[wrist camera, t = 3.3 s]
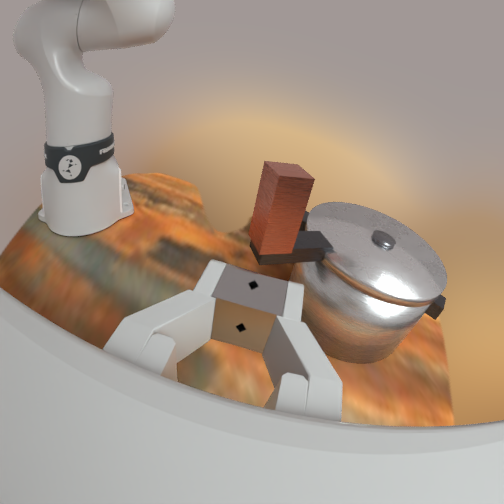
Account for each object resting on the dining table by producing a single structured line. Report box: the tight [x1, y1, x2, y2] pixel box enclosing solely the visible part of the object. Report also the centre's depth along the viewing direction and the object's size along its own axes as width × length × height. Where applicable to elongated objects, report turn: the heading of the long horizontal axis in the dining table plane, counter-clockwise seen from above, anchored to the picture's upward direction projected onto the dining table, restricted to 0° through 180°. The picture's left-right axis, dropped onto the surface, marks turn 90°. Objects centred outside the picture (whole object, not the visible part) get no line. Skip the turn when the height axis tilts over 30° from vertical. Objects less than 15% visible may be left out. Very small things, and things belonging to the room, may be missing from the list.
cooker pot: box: [289, 211, 446, 363], centre depth 35 cm, size 27×18×10 cm
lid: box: [249, 161, 447, 307], centre depth 27 cm, size 25×19×8 cm
